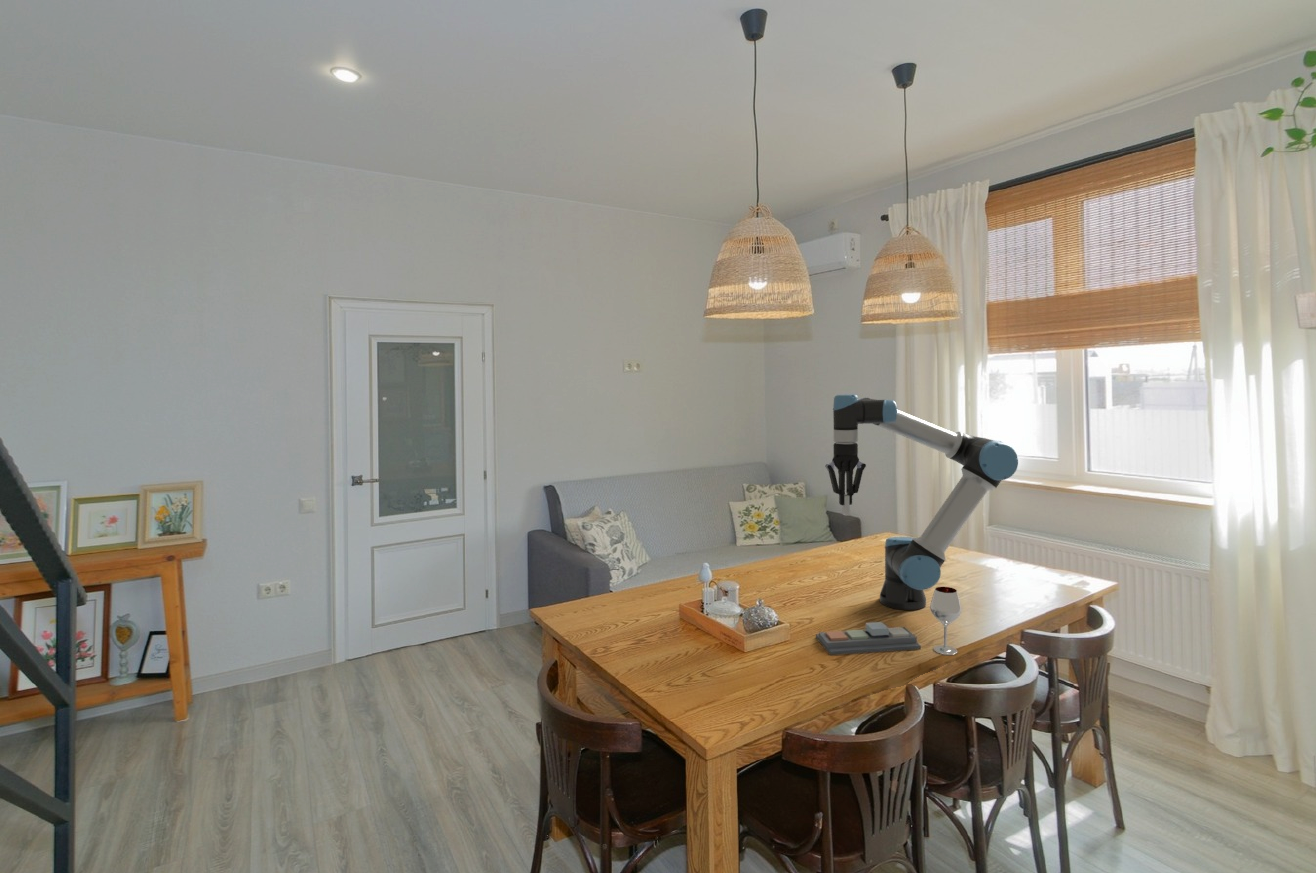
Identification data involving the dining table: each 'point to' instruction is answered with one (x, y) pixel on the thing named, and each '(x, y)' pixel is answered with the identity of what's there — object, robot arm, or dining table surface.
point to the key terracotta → (836, 636)
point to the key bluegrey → (877, 628)
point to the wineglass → (945, 613)
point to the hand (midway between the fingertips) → (845, 514)
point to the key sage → (856, 634)
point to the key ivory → (898, 632)
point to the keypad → (869, 643)
